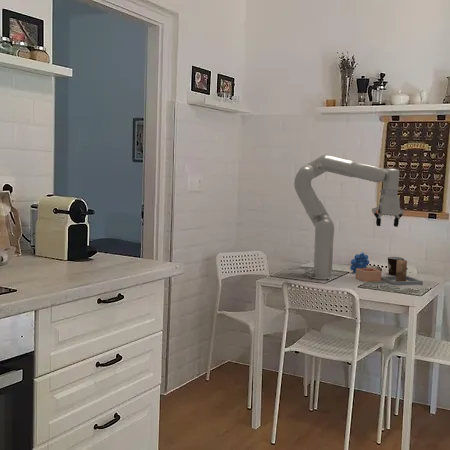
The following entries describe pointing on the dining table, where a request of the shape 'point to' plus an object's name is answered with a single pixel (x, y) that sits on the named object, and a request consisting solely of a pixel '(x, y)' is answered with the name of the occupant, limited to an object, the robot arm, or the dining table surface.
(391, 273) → the coffee mug
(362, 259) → the grapes
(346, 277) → the dining table surface
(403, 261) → the tan upright block
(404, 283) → the tray
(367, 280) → the orange block with hole
